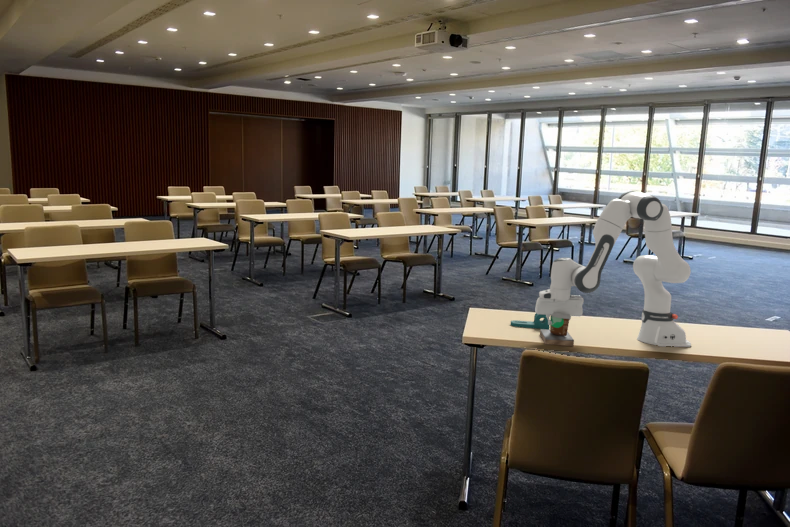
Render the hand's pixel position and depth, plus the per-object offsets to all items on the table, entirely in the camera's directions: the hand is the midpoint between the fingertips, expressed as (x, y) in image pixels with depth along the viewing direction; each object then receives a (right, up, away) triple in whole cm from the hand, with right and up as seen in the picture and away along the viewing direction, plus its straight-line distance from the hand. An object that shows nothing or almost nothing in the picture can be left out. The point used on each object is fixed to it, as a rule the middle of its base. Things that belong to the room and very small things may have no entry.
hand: (557, 324), depth 269 cm
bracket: (-7, -4, +25) cm, 27 cm away
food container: (-1, -4, +1) cm, 4 cm away
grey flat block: (0, -7, +1) cm, 7 cm away
